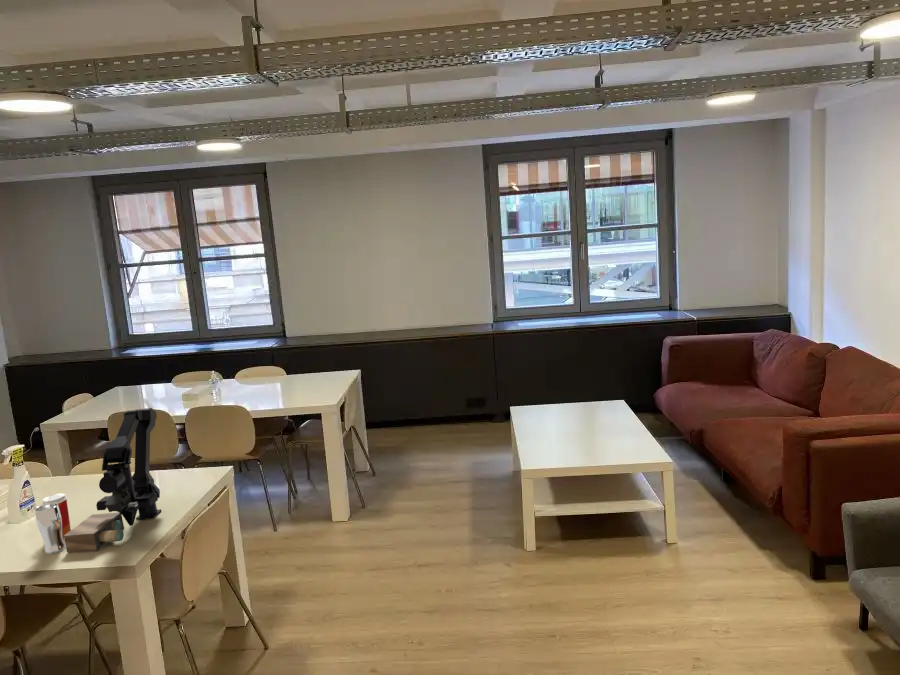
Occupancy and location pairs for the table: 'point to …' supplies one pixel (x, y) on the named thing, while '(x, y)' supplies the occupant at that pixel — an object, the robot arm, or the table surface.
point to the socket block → (90, 532)
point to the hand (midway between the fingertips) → (131, 525)
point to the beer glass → (50, 527)
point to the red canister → (62, 504)
